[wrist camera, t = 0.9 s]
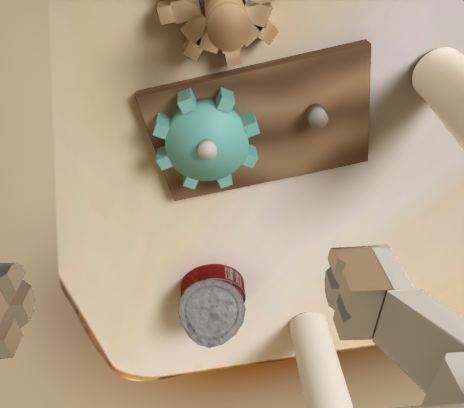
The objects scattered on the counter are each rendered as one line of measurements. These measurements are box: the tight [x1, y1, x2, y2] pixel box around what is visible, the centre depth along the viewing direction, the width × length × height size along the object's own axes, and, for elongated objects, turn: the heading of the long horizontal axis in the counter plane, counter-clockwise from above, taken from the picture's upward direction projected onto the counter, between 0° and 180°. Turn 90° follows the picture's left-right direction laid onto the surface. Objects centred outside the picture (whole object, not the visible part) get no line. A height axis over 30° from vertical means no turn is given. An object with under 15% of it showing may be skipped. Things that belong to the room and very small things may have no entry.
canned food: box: [178, 264, 245, 348], centre depth 61 cm, size 11×10×10 cm
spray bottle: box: [289, 312, 353, 408], centre depth 62 cm, size 7×7×25 cm
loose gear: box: [157, 0, 278, 67], centre depth 33 cm, size 11×11×10 cm
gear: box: [153, 87, 260, 190], centre depth 43 cm, size 11×11×4 cm
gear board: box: [135, 39, 371, 201], centre depth 44 cm, size 14×24×4 cm, turn 101°
